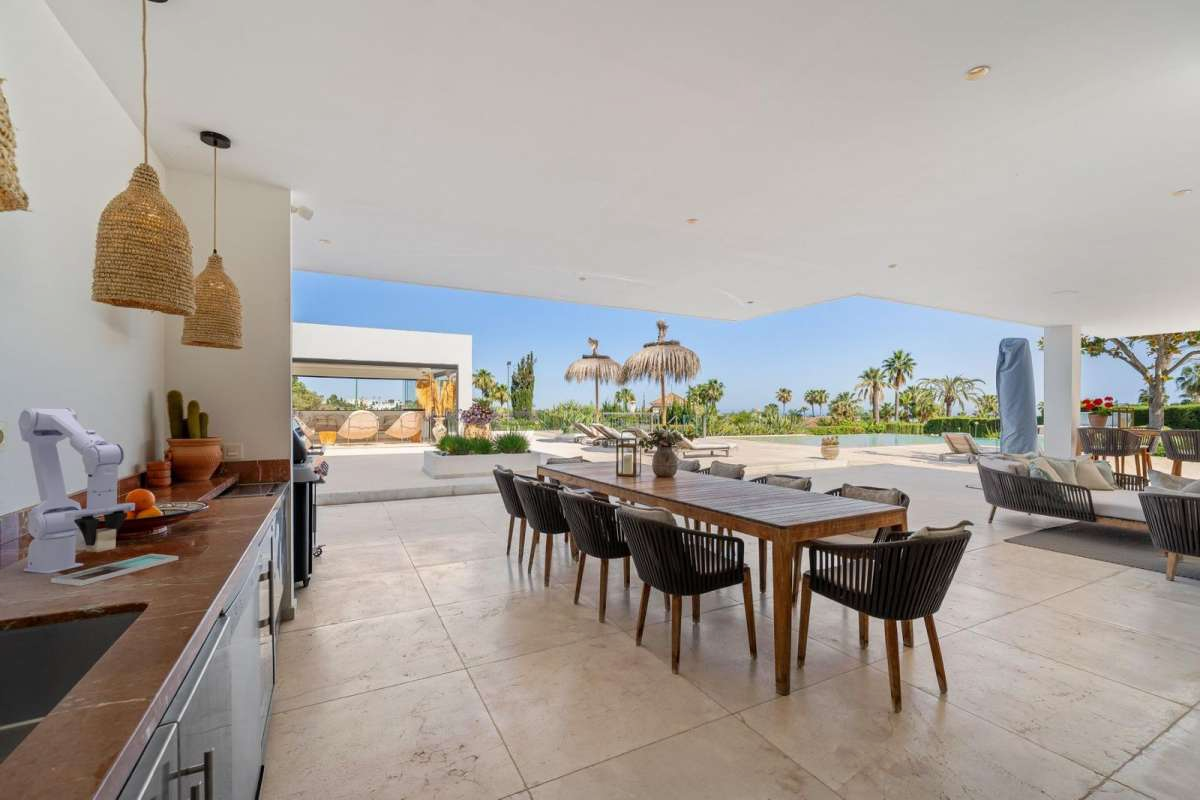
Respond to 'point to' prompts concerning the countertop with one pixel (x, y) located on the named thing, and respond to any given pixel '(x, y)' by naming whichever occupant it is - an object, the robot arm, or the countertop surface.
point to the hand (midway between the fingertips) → (100, 543)
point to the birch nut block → (103, 540)
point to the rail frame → (115, 569)
